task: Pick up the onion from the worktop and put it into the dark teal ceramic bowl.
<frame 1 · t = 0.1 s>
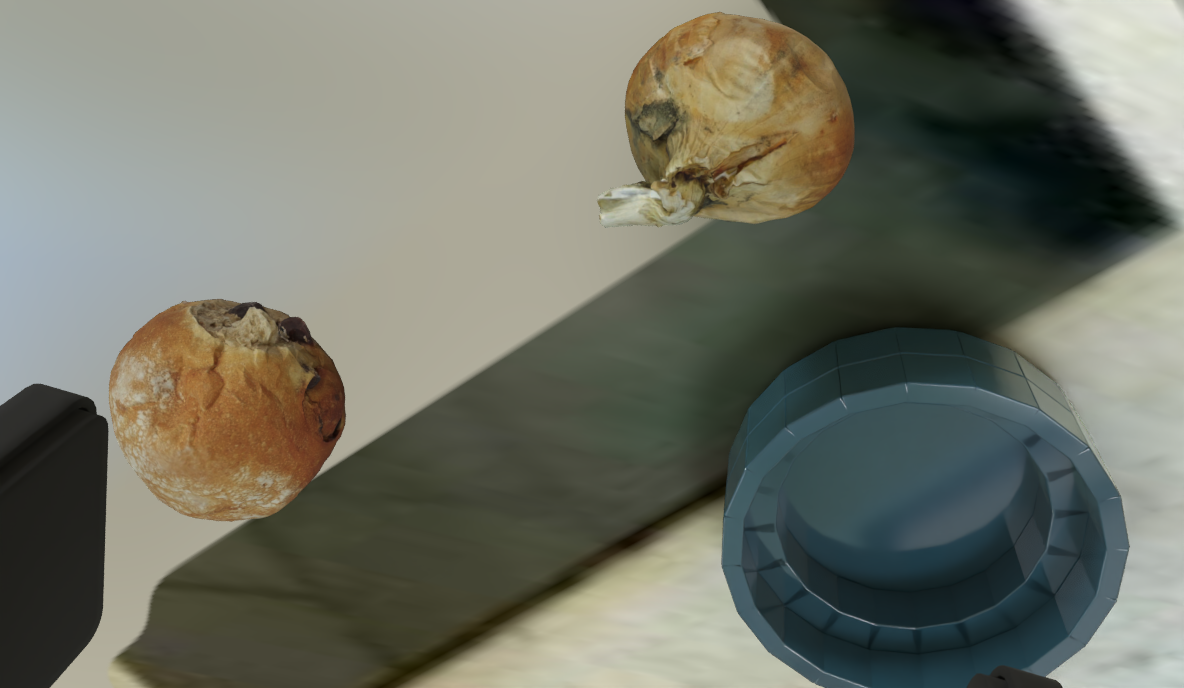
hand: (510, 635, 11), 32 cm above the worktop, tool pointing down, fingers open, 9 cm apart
onion: (738, 107, 40), on the worktop
bowl: (903, 480, 45), on the worktop
bread roll: (251, 384, 49), on the worktop
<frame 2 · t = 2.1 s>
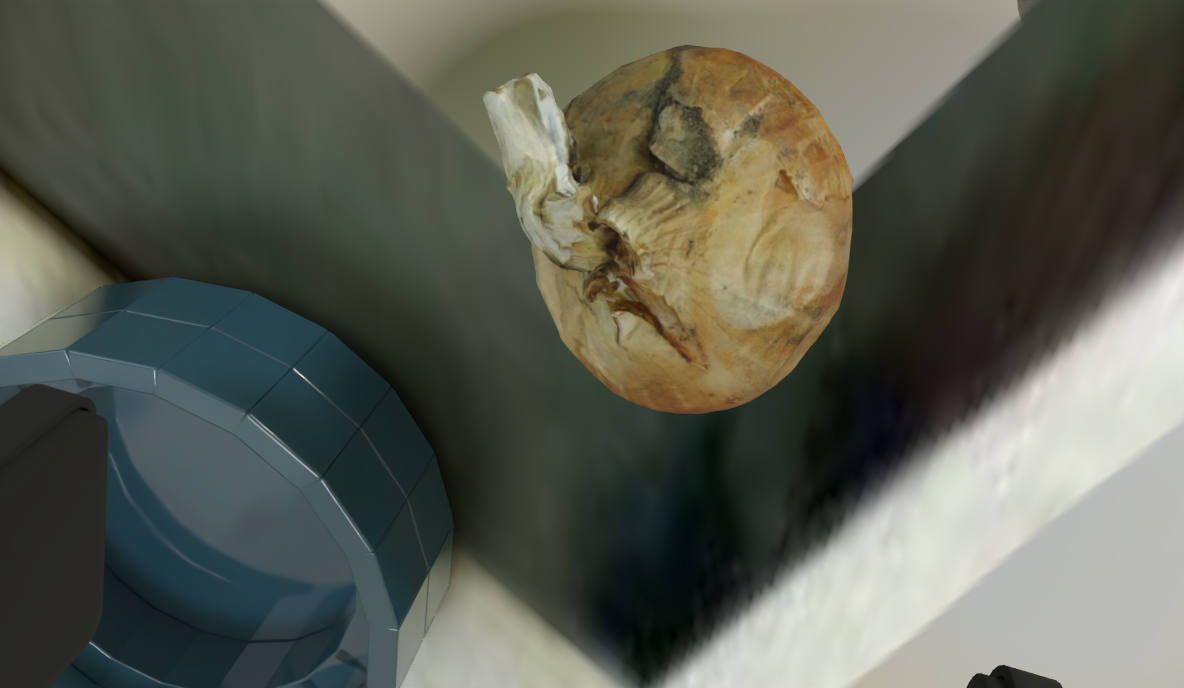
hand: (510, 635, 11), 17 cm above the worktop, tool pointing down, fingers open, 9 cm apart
onion: (690, 188, 27), on the worktop
bowl: (230, 493, 33), on the worktop
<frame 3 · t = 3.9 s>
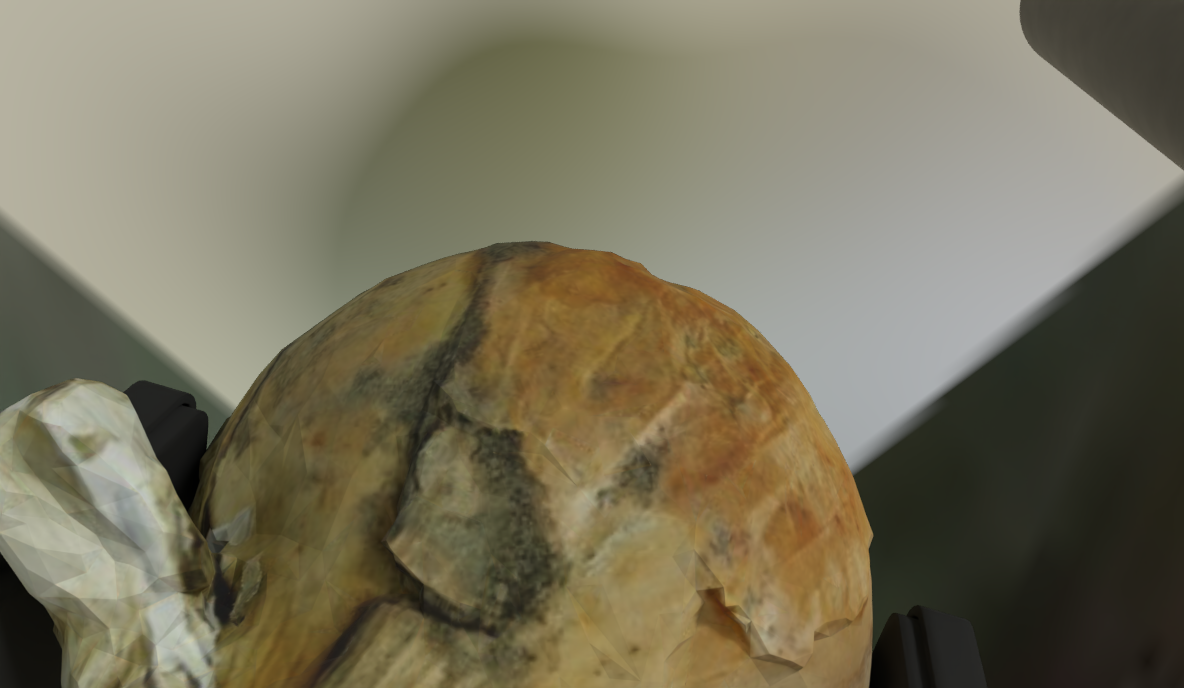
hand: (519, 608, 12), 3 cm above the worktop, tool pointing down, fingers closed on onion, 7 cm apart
onion: (566, 446, 15), on the worktop, touching gripper
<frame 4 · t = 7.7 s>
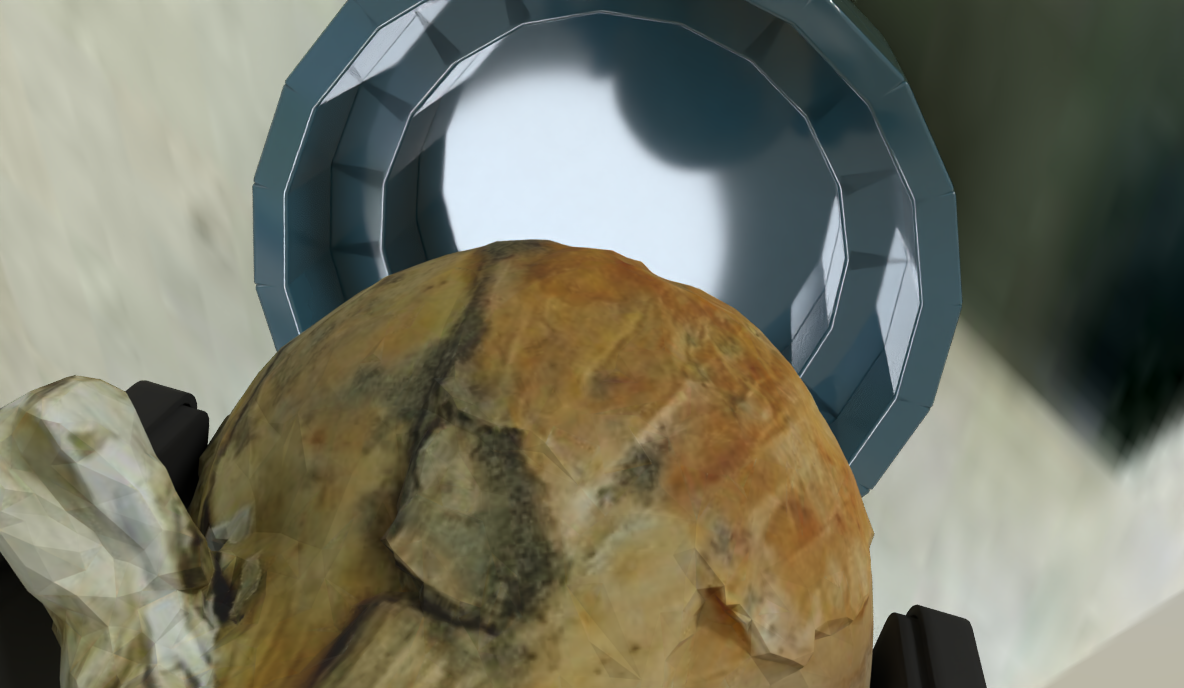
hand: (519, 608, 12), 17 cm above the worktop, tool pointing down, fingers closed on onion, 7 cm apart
onion: (566, 445, 15), point 13 cm above the worktop, touching gripper
bowl: (624, 213, 27), on the worktop
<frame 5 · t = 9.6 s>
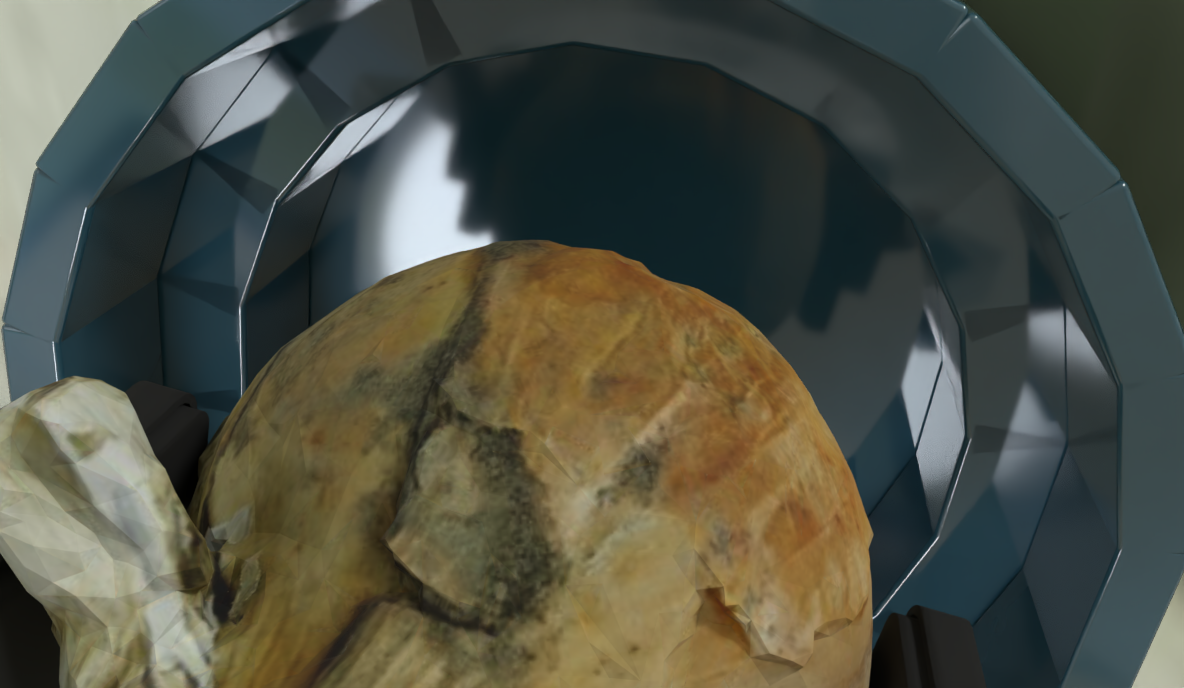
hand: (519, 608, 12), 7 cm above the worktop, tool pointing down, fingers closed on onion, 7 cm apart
onion: (565, 445, 15), point 4 cm above the worktop, touching gripper
bowl: (616, 334, 18), on the worktop
when the fingers open (4 cm above the worktop, at t = 11.3 s): onion stays where it is, resting on bowl.
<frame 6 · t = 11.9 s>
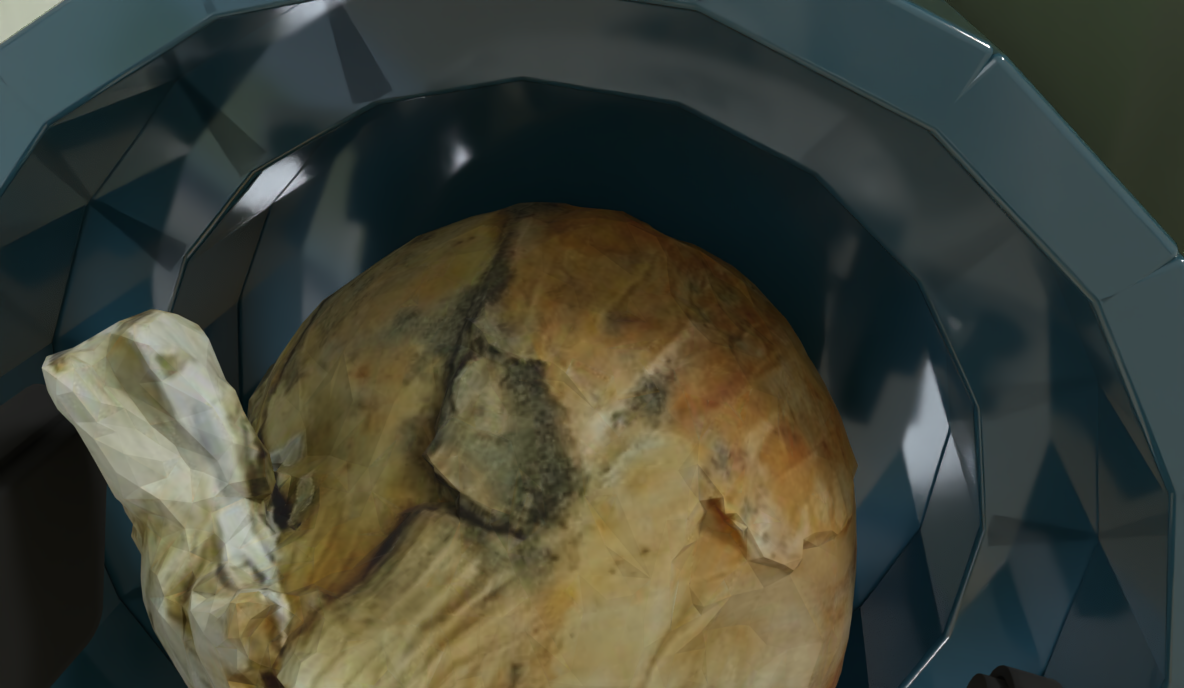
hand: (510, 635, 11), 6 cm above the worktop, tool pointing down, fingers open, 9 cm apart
onion: (576, 402, 16), resting on bowl
bowl: (584, 393, 16), on the worktop
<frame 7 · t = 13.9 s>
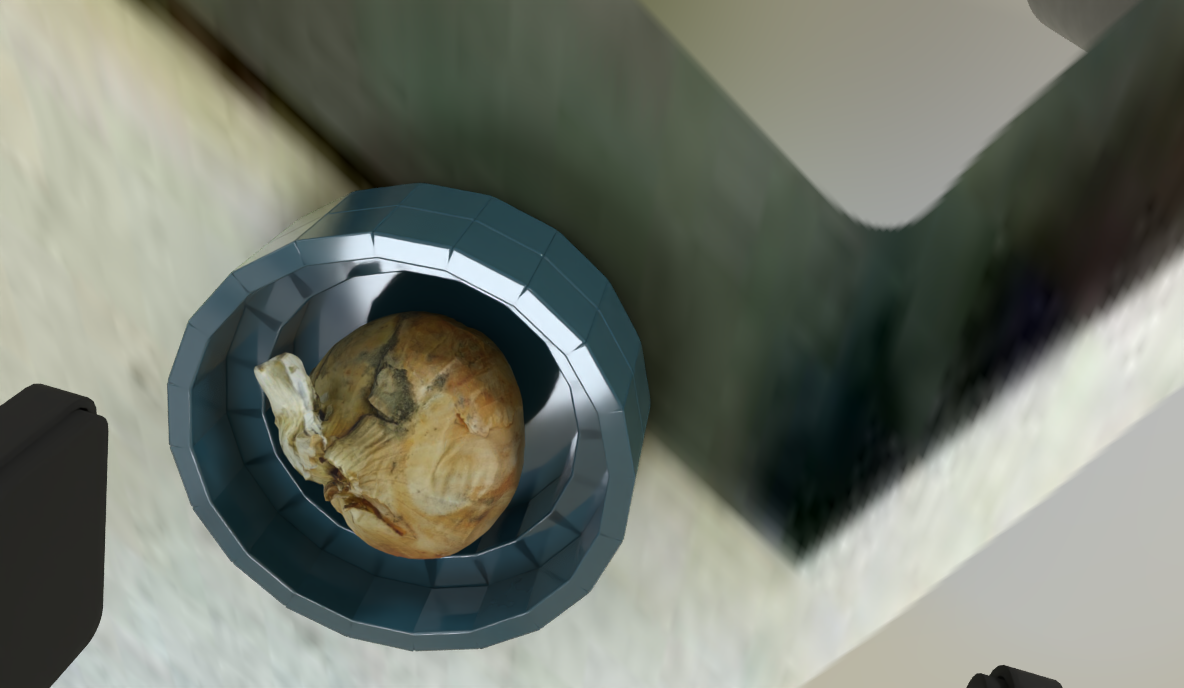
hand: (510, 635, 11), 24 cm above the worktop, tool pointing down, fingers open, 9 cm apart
onion: (438, 384, 37), resting on bowl
bowl: (443, 381, 38), on the worktop
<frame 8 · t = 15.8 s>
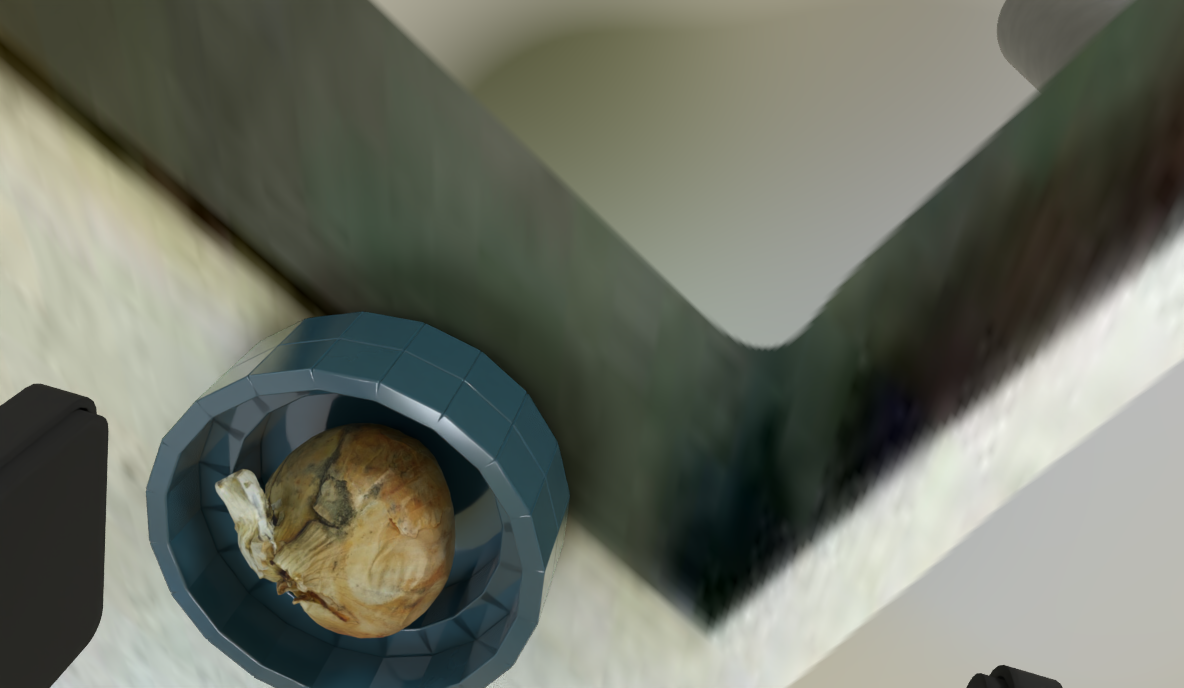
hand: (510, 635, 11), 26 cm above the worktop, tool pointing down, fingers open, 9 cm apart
onion: (387, 479, 42), resting on bowl
bowl: (391, 475, 43), on the worktop
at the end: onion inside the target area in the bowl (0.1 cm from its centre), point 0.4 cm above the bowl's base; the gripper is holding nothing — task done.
